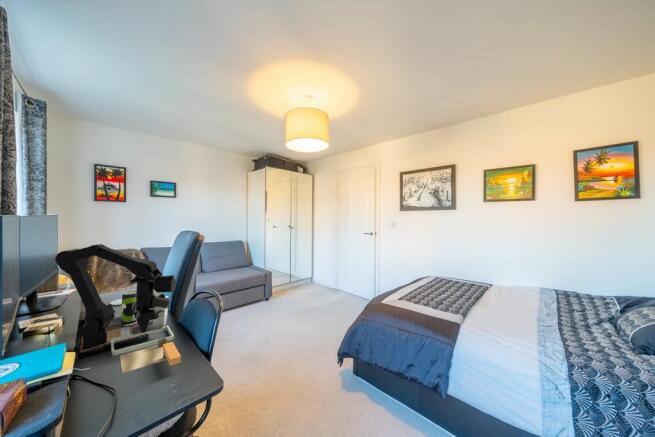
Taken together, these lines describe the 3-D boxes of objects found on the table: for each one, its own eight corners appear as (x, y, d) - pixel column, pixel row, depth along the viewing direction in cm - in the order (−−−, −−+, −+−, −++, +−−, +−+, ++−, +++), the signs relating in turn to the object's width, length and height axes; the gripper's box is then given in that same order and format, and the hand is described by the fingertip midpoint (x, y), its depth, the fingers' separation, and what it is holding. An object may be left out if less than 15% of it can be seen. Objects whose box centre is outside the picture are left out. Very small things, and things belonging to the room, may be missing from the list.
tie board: (122, 376, 78) (122, 365, 78) (119, 358, 87) (120, 348, 87) (179, 358, 89) (179, 348, 89) (171, 344, 98) (172, 335, 98)
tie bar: (169, 365, 78) (170, 359, 78) (162, 350, 87) (163, 344, 87) (180, 362, 80) (180, 356, 80) (172, 347, 89) (172, 341, 89)
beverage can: (136, 320, 119) (137, 289, 119) (138, 324, 115) (140, 292, 115) (119, 323, 114) (121, 292, 114) (121, 328, 110) (123, 295, 110)
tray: (111, 358, 87) (112, 351, 87) (110, 345, 96) (110, 338, 96) (174, 341, 100) (174, 335, 100) (167, 331, 109) (168, 325, 109)
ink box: (155, 320, 120) (156, 296, 120) (167, 318, 122) (168, 295, 122) (151, 327, 112) (152, 302, 112) (164, 325, 114) (165, 300, 114)
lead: (120, 339, 92) (121, 331, 92) (120, 336, 94) (120, 328, 94) (163, 329, 101) (164, 321, 101) (162, 326, 104) (162, 319, 104)
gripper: (173, 295, 97) (171, 334, 97) (164, 284, 110) (162, 318, 110) (138, 300, 89) (136, 343, 89) (133, 288, 103) (131, 325, 103)
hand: (143, 331), depth 98 cm, fingers closed on lead, 2 cm apart
